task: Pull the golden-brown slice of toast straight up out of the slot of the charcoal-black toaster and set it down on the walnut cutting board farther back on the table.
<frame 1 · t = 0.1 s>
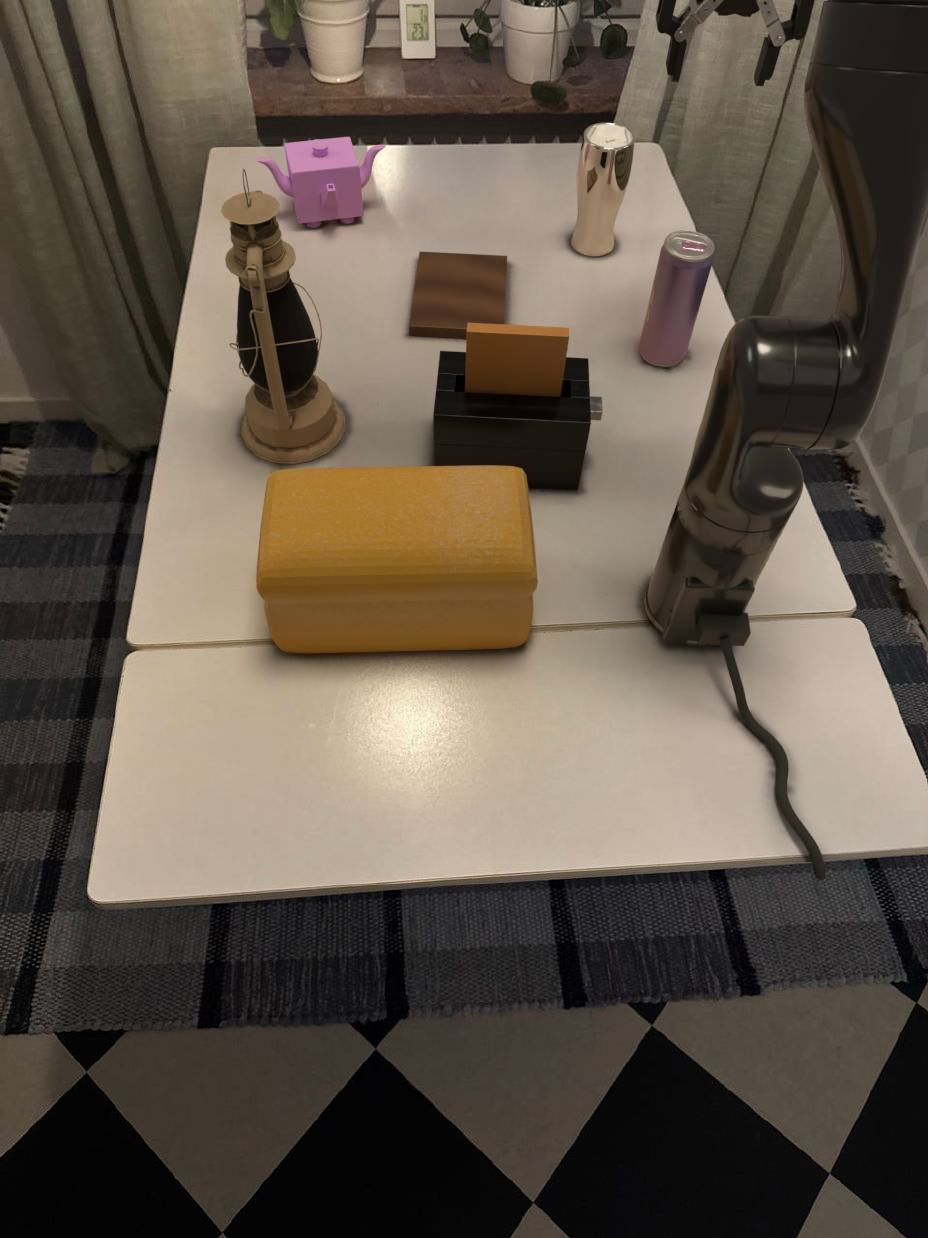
hand: (716, 80, 87), 29 cm above the table, tool pointing down, fingers open, 8 cm apart
board: (459, 299, 113), on the table
teapot: (329, 216, 124), on the table
beer glass: (592, 245, 121), on the table
toast: (510, 414, 92), point 6 cm above the table, touching toaster
lantern: (294, 427, 99), on the table
toaster: (507, 454, 97), on the table
beverage can: (661, 354, 108), on the table
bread: (402, 600, 86), on the table
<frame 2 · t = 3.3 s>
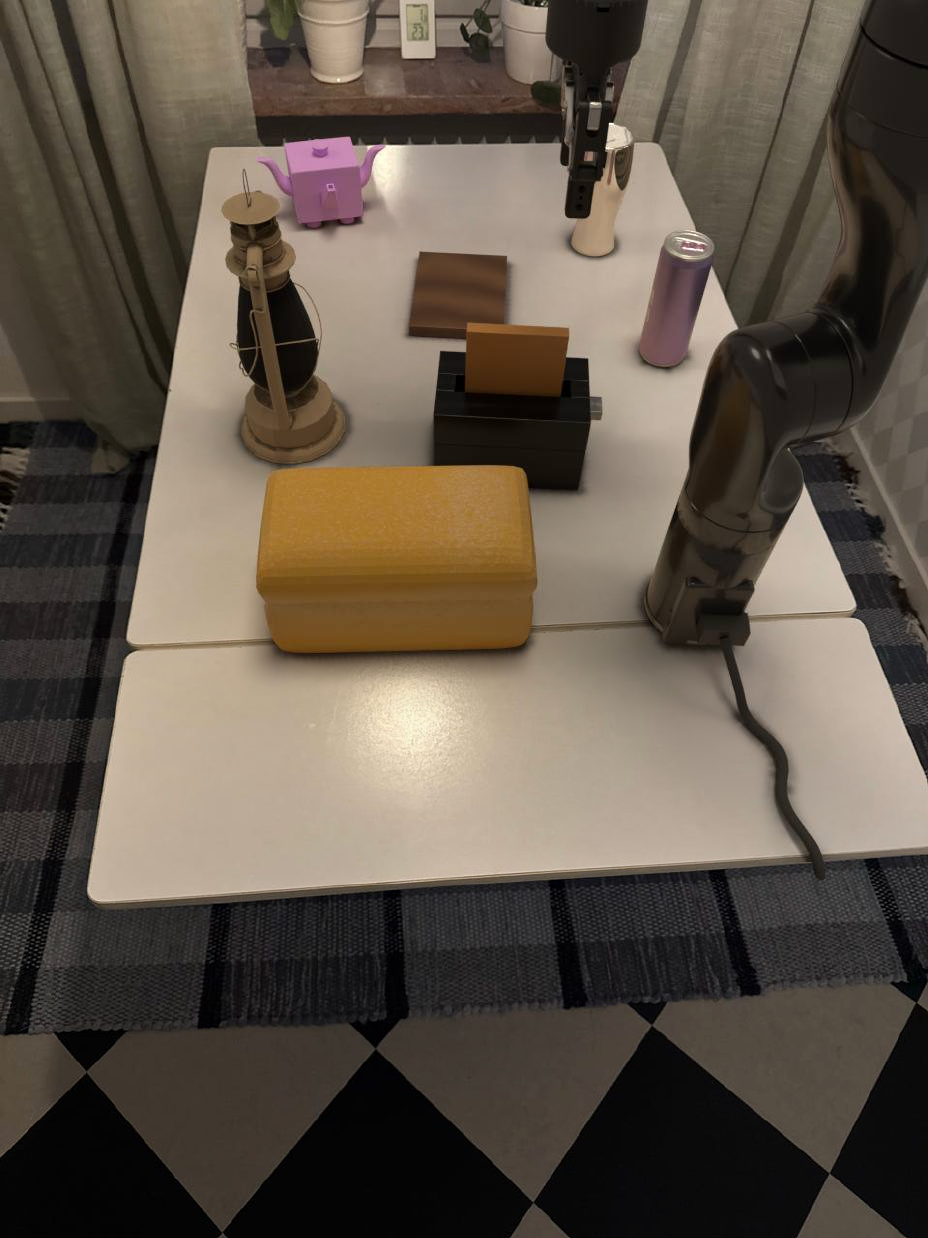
hand: (573, 189, 77), 28 cm above the table, tool pointing down, fingers open, 8 cm apart
nothing on the table moved.
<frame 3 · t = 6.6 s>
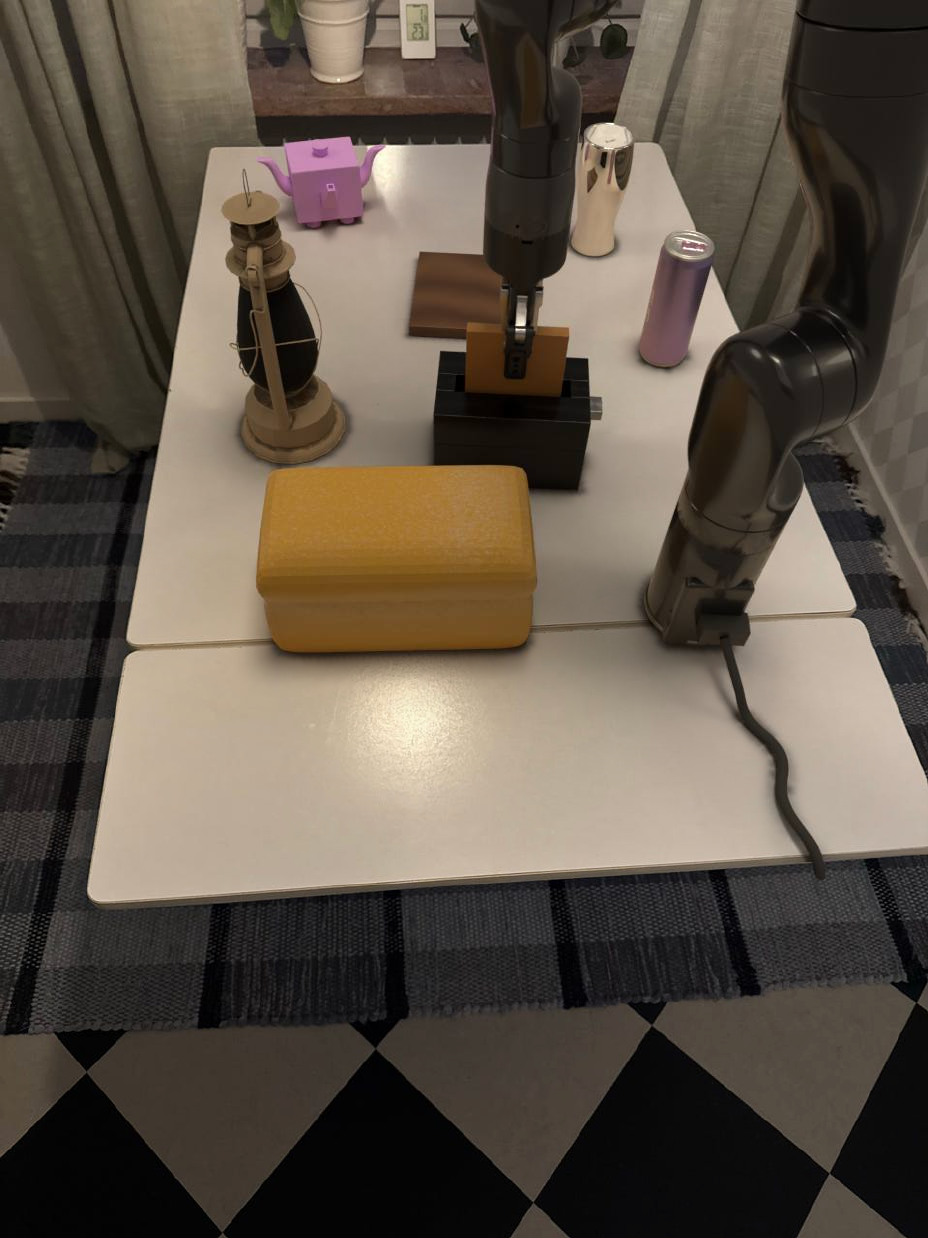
hand: (514, 370, 87), 12 cm above the table, tool pointing down, fingers closed on toast, 1 cm apart
toast: (510, 414, 92), point 6 cm above the table, touching gripper
everything else where it was.
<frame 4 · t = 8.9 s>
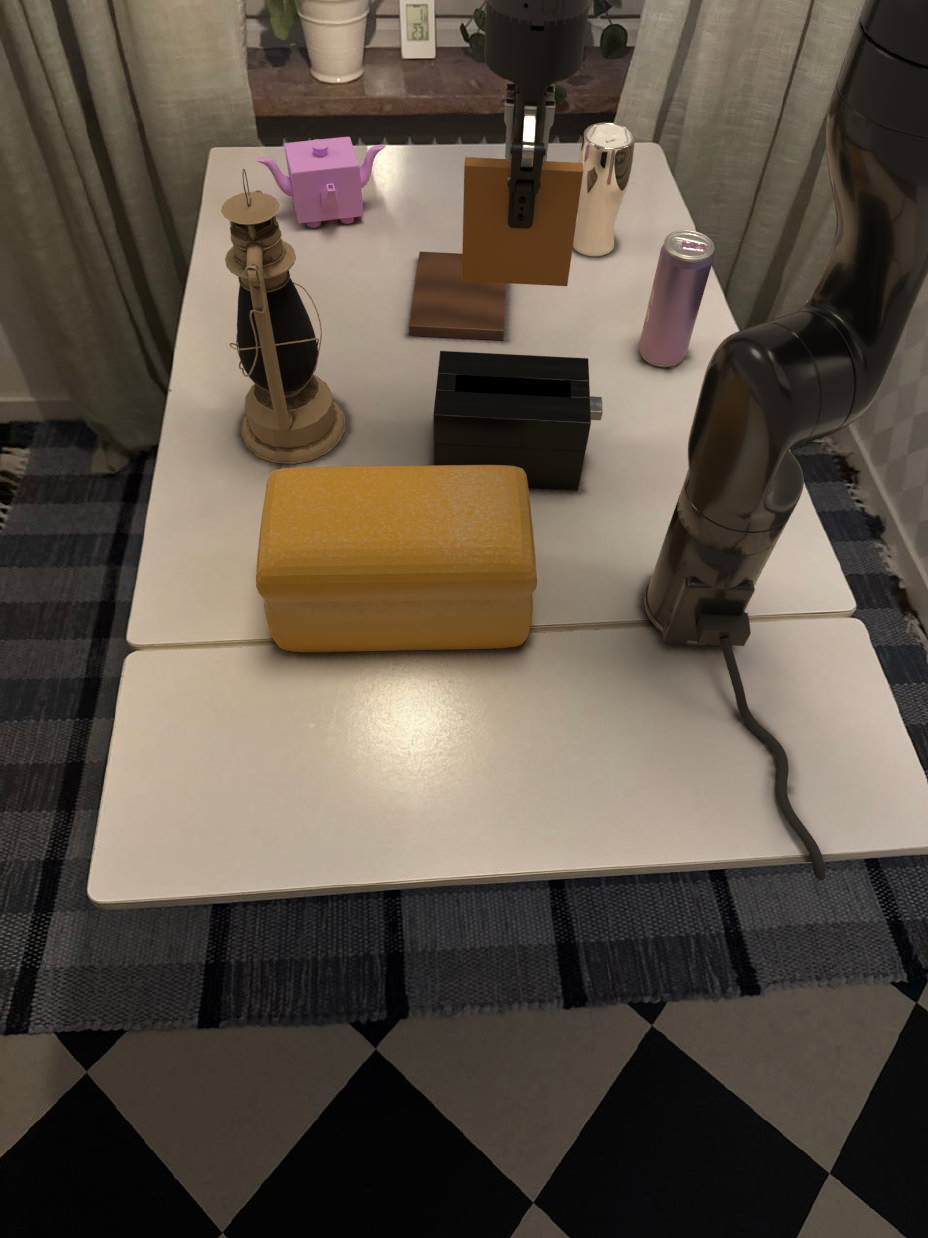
hand: (520, 219, 76), 27 cm above the table, tool pointing down, fingers closed on toast, 1 cm apart
toast: (514, 279, 81), point 21 cm above the table, touching gripper
everything else where it was.
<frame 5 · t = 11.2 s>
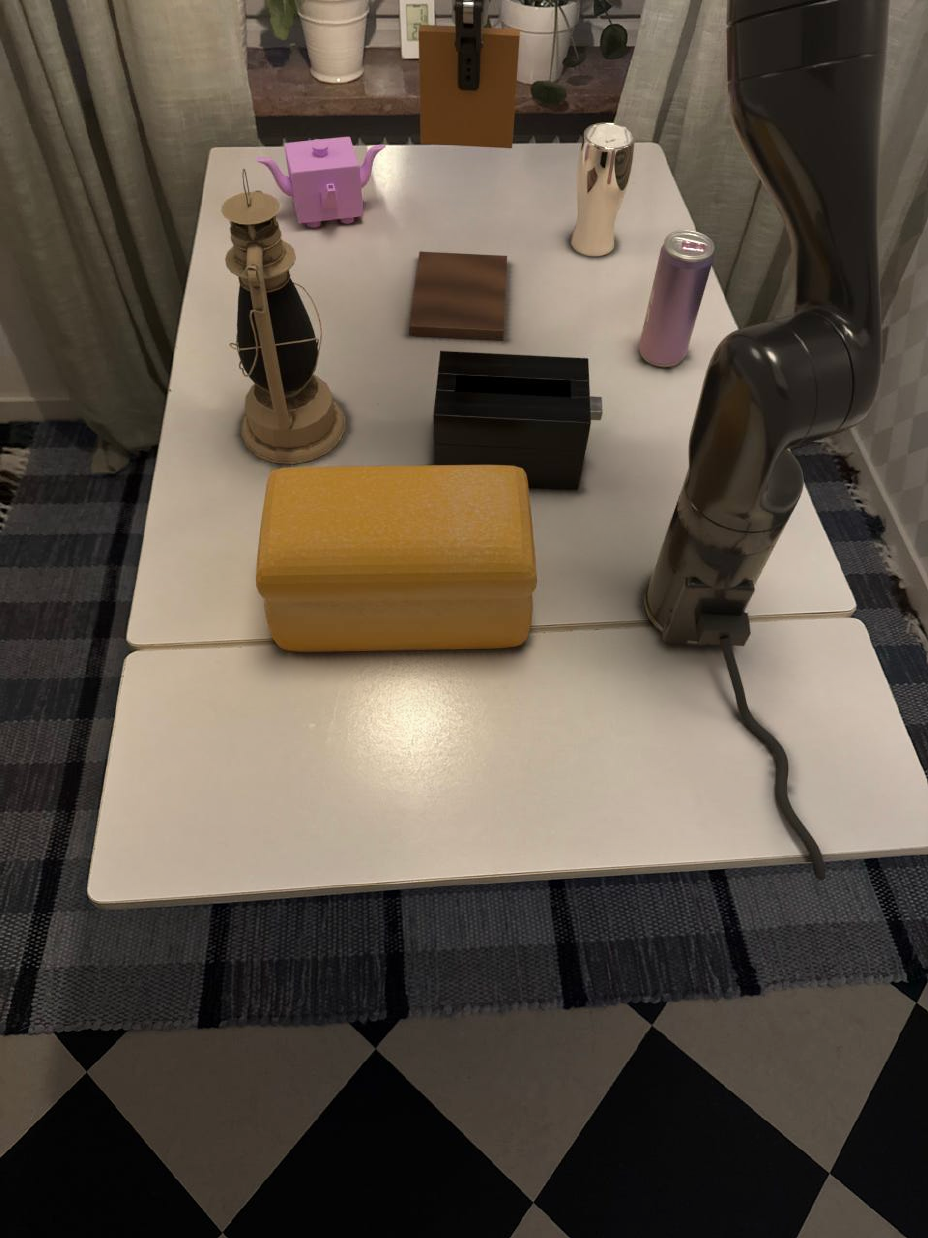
hand: (469, 83, 88), 28 cm above the table, tool pointing down, fingers closed on toast, 1 cm apart
toast: (466, 142, 93), point 22 cm above the table, touching gripper
everything else where it was.
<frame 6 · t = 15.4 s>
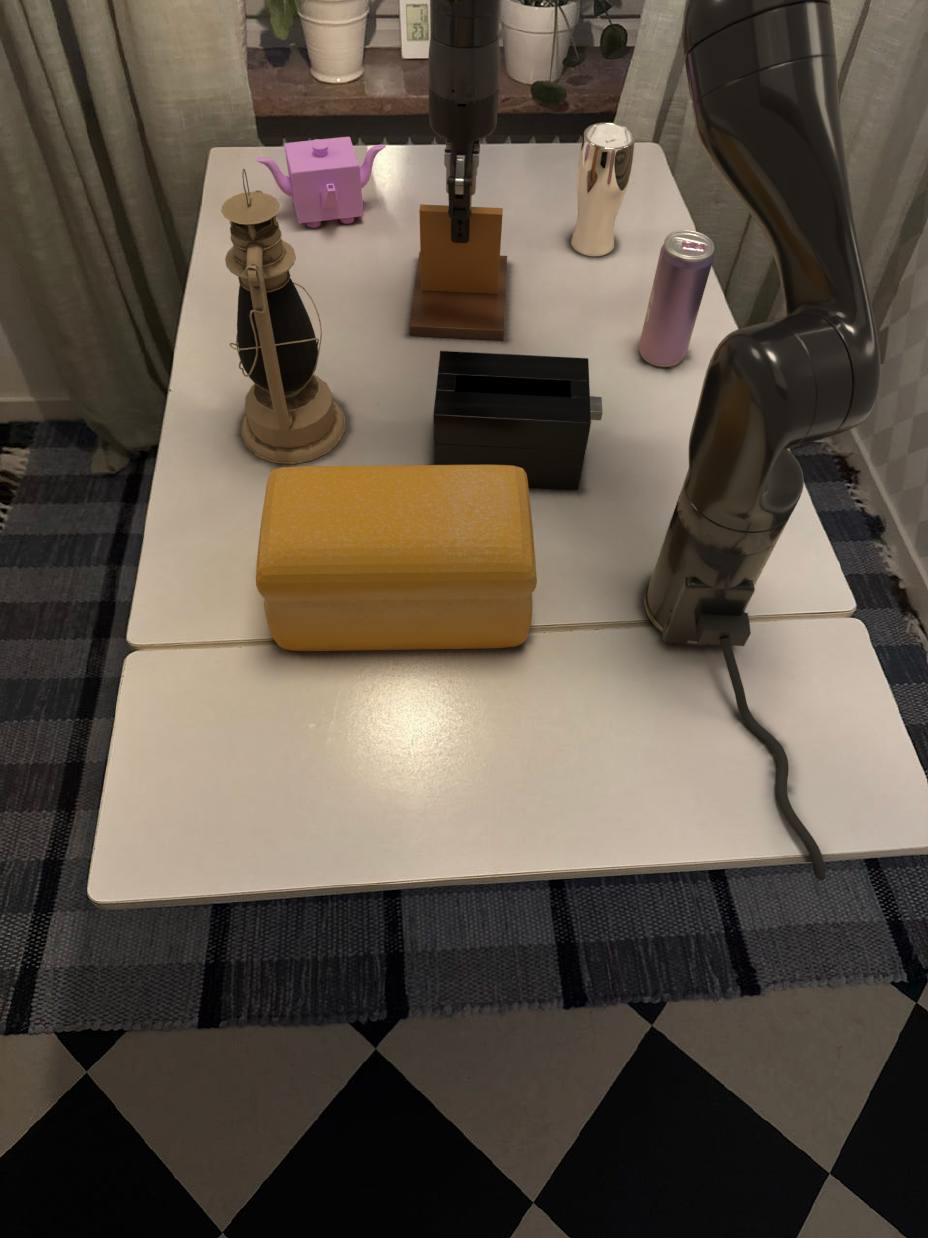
hand: (461, 230, 105), 10 cm above the table, tool pointing down, fingers open, 3 cm apart
toast: (459, 289, 112), point 2 cm above the table, touching board
everything else where it was.
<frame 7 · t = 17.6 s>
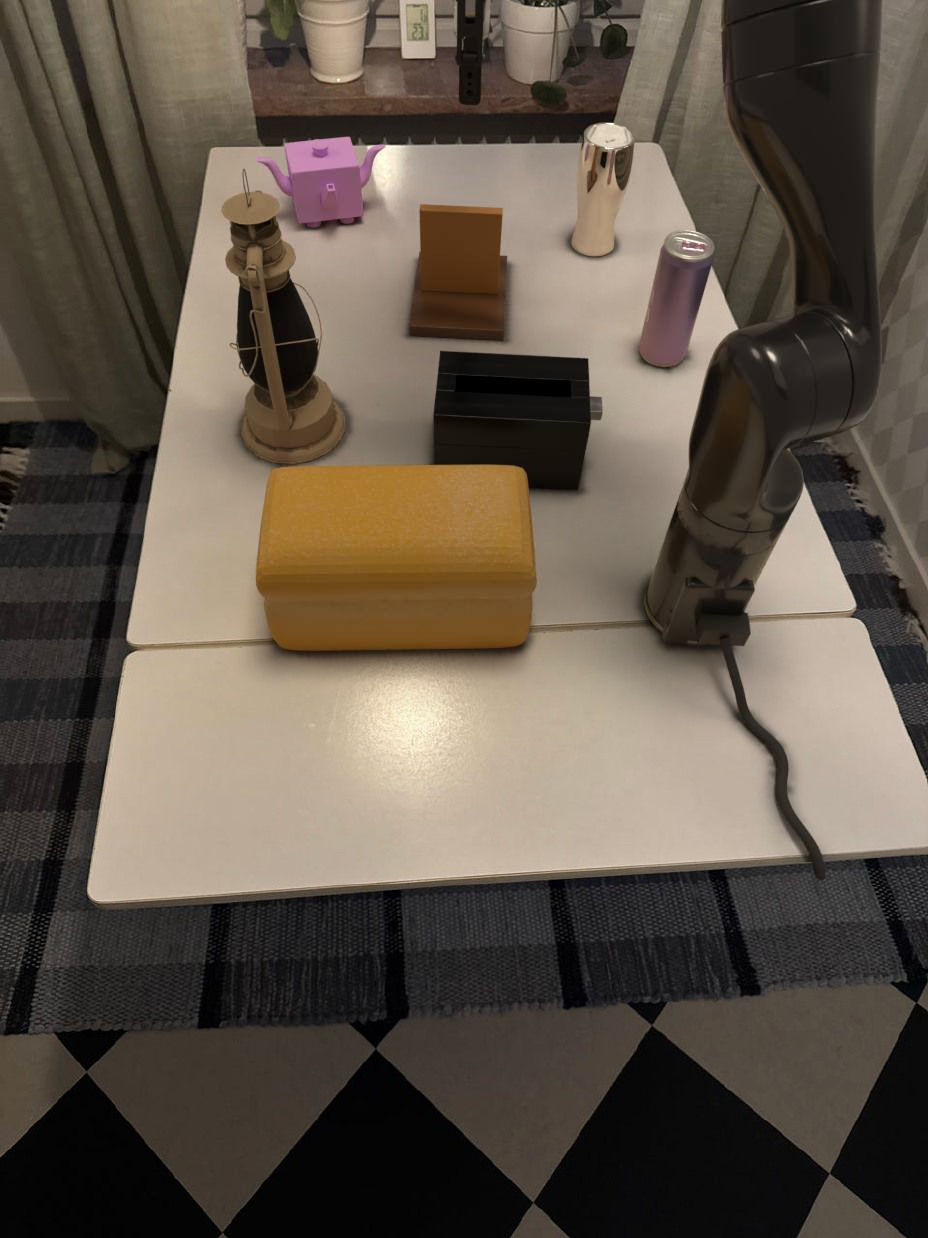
hand: (471, 83, 89), 28 cm above the table, tool pointing down, fingers open, 8 cm apart
nothing on the table moved.
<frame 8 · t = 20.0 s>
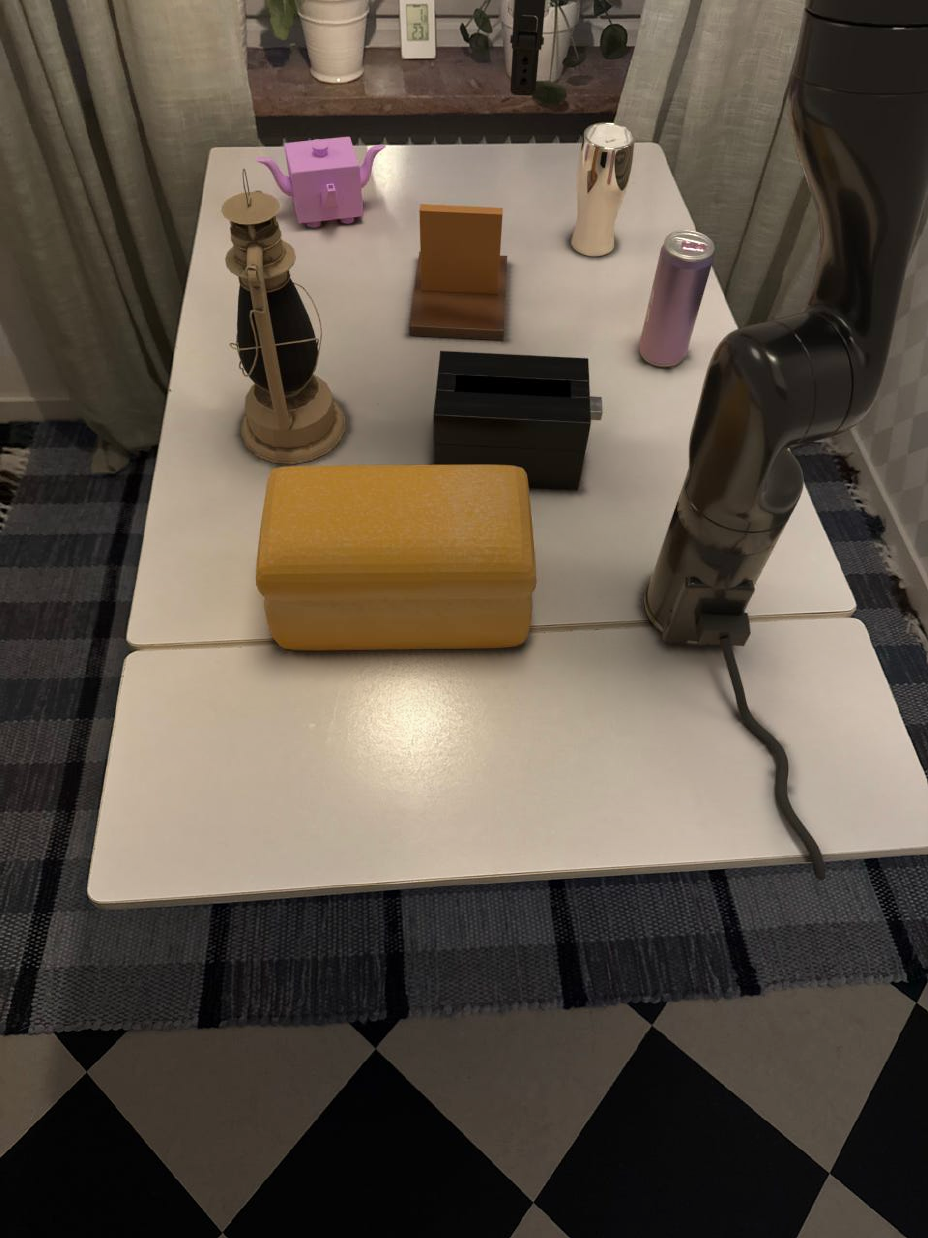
hand: (523, 70, 77), 34 cm above the table, tool pointing down, fingers open, 8 cm apart
nothing on the table moved.
at the end: toast inside the target area on the board (0.0 cm from its centre), point 1.5 cm above the board's base; toast moved 29.2 cm from its start; the gripper is holding nothing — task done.
